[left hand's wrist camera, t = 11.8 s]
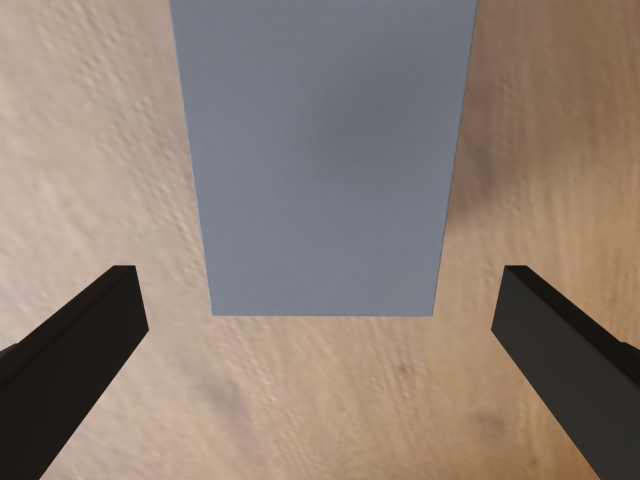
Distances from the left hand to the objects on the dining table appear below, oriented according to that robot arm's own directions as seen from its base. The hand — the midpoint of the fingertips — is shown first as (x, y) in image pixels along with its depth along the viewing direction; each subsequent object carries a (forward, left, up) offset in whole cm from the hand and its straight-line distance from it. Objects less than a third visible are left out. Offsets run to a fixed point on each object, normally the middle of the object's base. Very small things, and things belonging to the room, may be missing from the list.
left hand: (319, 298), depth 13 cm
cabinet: (+6, -1, -12) cm, 14 cm away
